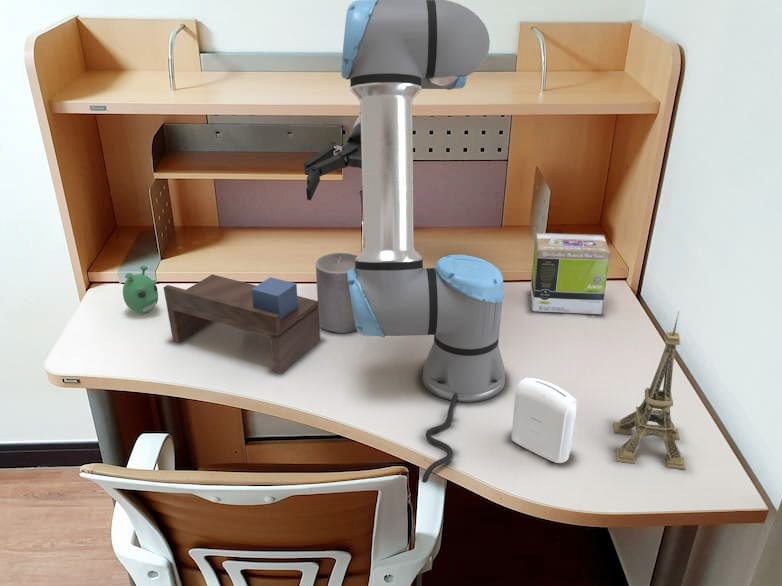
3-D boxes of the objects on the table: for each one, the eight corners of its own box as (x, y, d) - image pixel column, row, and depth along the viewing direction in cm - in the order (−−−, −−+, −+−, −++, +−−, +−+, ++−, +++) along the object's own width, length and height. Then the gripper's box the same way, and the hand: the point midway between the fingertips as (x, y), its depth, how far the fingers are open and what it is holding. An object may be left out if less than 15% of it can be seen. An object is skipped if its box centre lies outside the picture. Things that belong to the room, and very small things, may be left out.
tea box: (596, 295, 171) (606, 233, 163) (601, 316, 163) (612, 252, 155) (529, 291, 172) (535, 230, 164) (530, 312, 164) (538, 248, 156)
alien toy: (145, 323, 158) (137, 279, 153) (119, 314, 161) (110, 271, 156) (170, 310, 163) (163, 267, 158) (144, 301, 166) (136, 259, 161)
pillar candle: (356, 308, 165) (354, 244, 157) (371, 329, 157) (370, 262, 149) (312, 316, 162) (308, 250, 154) (325, 337, 154) (322, 269, 146)
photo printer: (506, 440, 126) (512, 378, 119) (521, 429, 128) (528, 367, 122) (559, 468, 120) (569, 404, 113) (573, 456, 122) (584, 392, 116)
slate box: (298, 307, 146) (296, 283, 143) (280, 320, 141) (278, 296, 138) (272, 300, 148) (270, 277, 145) (253, 313, 143) (251, 289, 141)
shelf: (320, 340, 153) (317, 287, 146) (280, 373, 142) (275, 317, 136) (217, 312, 162) (210, 260, 156) (172, 341, 152) (163, 287, 145)
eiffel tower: (616, 461, 121) (644, 324, 108) (613, 423, 130) (639, 291, 117) (685, 469, 120) (722, 331, 106) (677, 430, 128) (710, 298, 115)
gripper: (424, 161, 164) (402, 225, 151) (313, 143, 166) (282, 204, 154) (426, 131, 158) (404, 195, 145) (310, 113, 160) (279, 174, 148)
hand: (341, 200), depth 149 cm, fingers open, 13 cm apart
